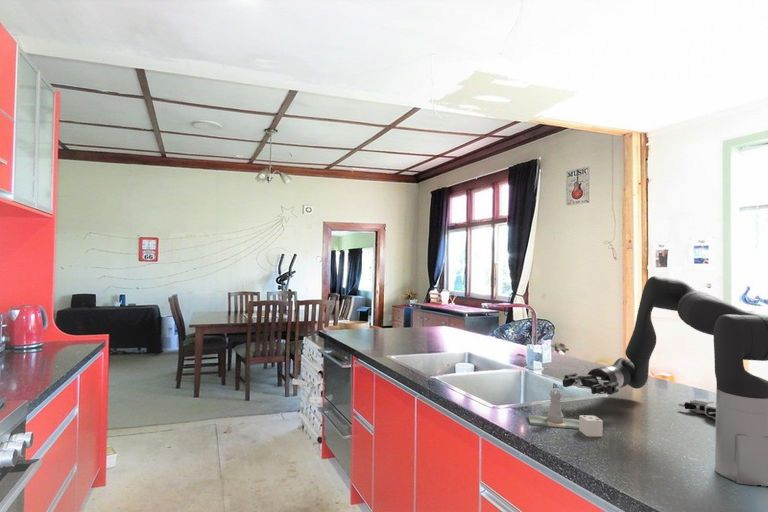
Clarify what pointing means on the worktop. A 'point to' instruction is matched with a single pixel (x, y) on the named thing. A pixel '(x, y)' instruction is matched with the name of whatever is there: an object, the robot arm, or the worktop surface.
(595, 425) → the die
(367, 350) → the worktop surface
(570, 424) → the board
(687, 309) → the robot arm
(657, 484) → the worktop surface
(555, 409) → the rook chess piece
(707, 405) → the robot toy
